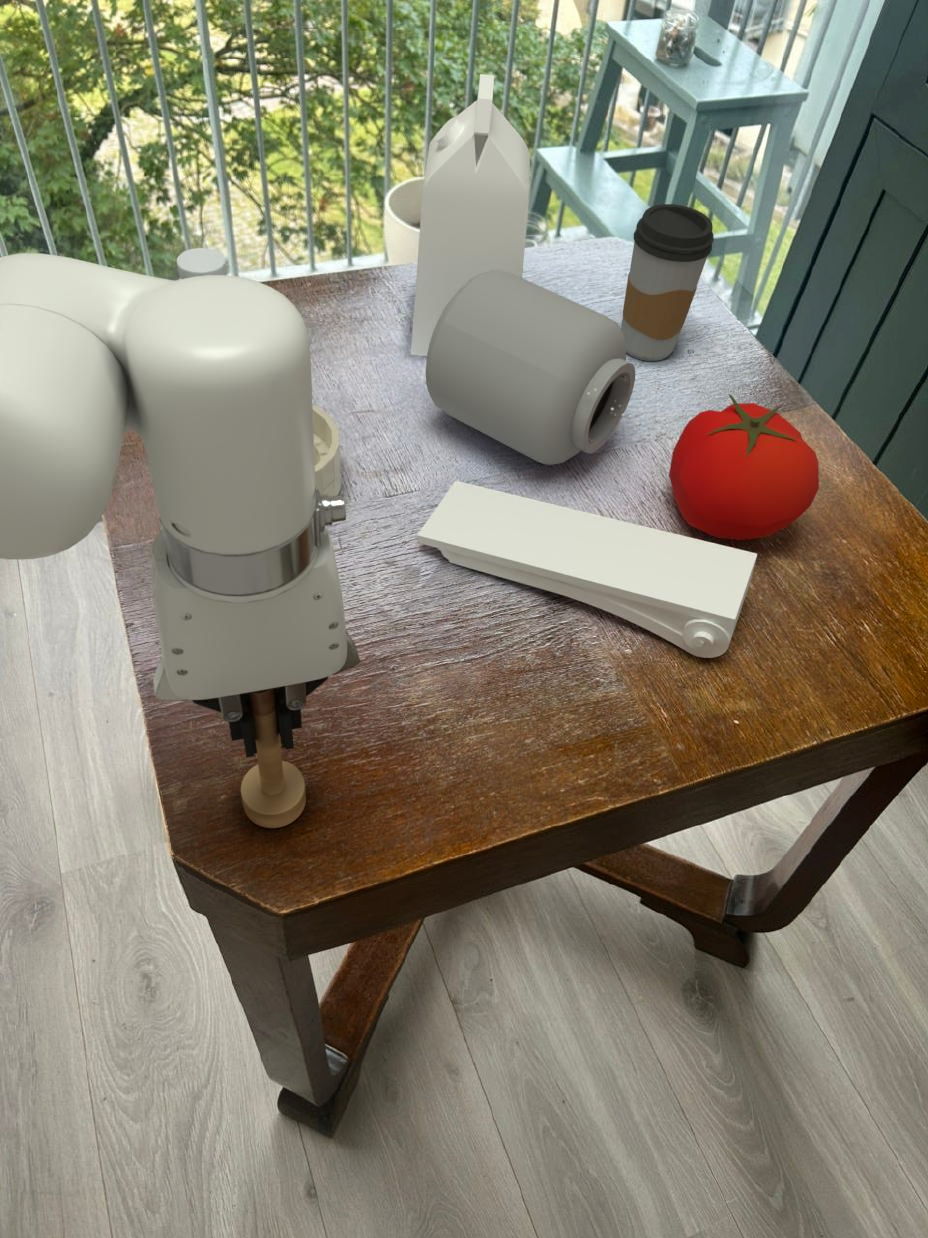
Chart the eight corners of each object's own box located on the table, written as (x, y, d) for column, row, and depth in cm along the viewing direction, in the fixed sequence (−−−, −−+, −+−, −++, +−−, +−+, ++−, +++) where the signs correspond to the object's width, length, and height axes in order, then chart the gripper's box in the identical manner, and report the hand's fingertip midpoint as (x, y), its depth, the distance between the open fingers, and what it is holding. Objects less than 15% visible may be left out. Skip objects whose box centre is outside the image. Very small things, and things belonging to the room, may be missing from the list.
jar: (545, 309, 105) (740, 390, 91) (484, 432, 107) (664, 527, 94) (448, 233, 89) (666, 317, 76) (379, 379, 92) (577, 484, 78)
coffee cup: (665, 323, 114) (697, 199, 102) (693, 364, 108) (731, 238, 97) (599, 329, 112) (625, 203, 100) (625, 370, 107) (656, 243, 95)
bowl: (178, 500, 88) (167, 449, 83) (259, 430, 95) (254, 379, 90) (290, 553, 84) (286, 502, 80) (365, 475, 92) (365, 425, 87)
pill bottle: (190, 341, 104) (174, 240, 95) (250, 345, 104) (239, 244, 95) (178, 376, 100) (160, 274, 91) (241, 381, 100) (229, 279, 91)
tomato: (685, 457, 97) (717, 361, 89) (810, 511, 93) (856, 415, 85) (635, 525, 90) (664, 426, 81) (768, 586, 86) (814, 489, 78)
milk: (514, 364, 106) (547, 118, 86) (410, 354, 105) (420, 105, 86) (515, 305, 114) (546, 68, 94) (419, 296, 113) (429, 56, 94)
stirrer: (230, 810, 67) (207, 692, 57) (267, 764, 70) (252, 643, 59) (282, 839, 66) (268, 724, 55) (318, 791, 69) (311, 673, 58)
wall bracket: (424, 593, 90) (721, 678, 81) (409, 550, 83) (729, 637, 75) (464, 511, 94) (751, 583, 85) (453, 463, 88) (761, 536, 79)
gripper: (378, 461, 52) (372, 668, 66) (72, 499, 48) (135, 710, 62) (412, 558, 47) (399, 759, 61) (78, 608, 43) (144, 810, 57)
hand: (266, 733), depth 61 cm, fingers closed on stirrer
